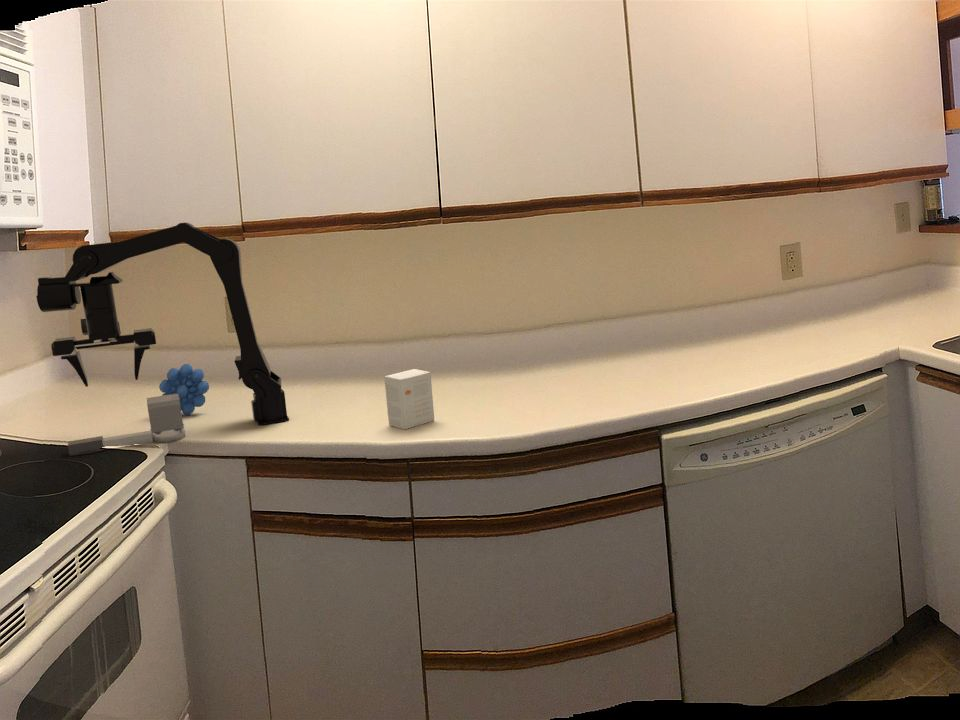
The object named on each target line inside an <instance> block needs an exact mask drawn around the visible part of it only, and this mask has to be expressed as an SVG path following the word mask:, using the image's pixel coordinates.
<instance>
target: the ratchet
mask: <svg viewBox="0 0 960 720" xmlns="http://www.w3.org/2000/svg"><path fill="white" fill-rule="evenodd" d="M183 427H184V428H180V429H174V430H168V431H162V432H156V433H152V432H151V428H150V429H149V430H145V431H139V432H135V433H134V432H133V433H127V434H121V435H114V436H109V437H108V436H107V437H104V436H103V435H101V436H99V435H98V436H96V437H95V436H94V437H88V438H87V437H86V438H81V439H75V440H69V441H68V443H67V450H68V455H70V454H74V453H78V452H83V451H87V450H92V449H100V448H102V447H105V446H119V445H121V446H122V445H134V444H143V445H147V444H148V443H149V444H153V443H154V444H169V443H174V442H178V441H181V440H183V439H185V438H186V431H185V424H184V423H183Z"/></svg>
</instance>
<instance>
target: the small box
mask: <svg viewBox="0 0 960 720" xmlns="http://www.w3.org/2000/svg"><path fill="white" fill-rule="evenodd" d="M383 379H384V386H385V387H384V388H385V399H386V408H387V419H388V425H389V426H390V427H394V428H397V429H401V430H408V428H409V429H411V427H412V428H414V426H415V427H419V426H421V425H424V423H425V424H427V422H428V423H430V422H434V421H435V412H434V411H435V409H434V399H433V388H432V387H433V385H432V374H431V372H430V371H426V370H421V369H417V368H413V369H412V368H411V369H409V370H404V371H400V372H395V373H393V374H389V375H385V376H384V378H383Z"/></svg>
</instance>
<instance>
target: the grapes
mask: <svg viewBox="0 0 960 720" xmlns="http://www.w3.org/2000/svg"><path fill="white" fill-rule="evenodd" d="M193 369H194V368H193V366H192V365H191V364H190V363H184V364H183V365H181V367H180V368H179V369H178V368H175V367H172V368H170V369H169V370H168V371H167V373H166V377H167V378H166V379H164V380H163V379H162V381H161V382H160V383H159V387H158V388H159V390H160V392H161V393H162V395H161V396H164V395H171V394H178V395H179V400H180V407H181V413H182V414H183V415H185V416H190V415H192V414H193V413H194V411H195V408H200V407H202V406H203V405H204V404H205V403H206V396H205V395H204V394H207V392H208V391H209V390H210V384H209V382H207V380H203V379H204V378H205V373H204V370H202V369H201V368H195V369H194V370H193Z"/></svg>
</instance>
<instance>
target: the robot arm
mask: <svg viewBox="0 0 960 720" xmlns="http://www.w3.org/2000/svg"><path fill="white" fill-rule="evenodd" d="M183 243H184V244H186V245H188V246H190V247H192V248H193V249H196V250H197V251H199V252H201V253H203V254H205V255H208V256H209V258H210V261H211V262H212V264H213V267H214V269H215V271H216V273H217V275H218V277H219V278H220V280H221V282H222V285H223V287H224V291H225V294H226V295H225V296H226V300H227V302H228V306H229V310H230V314H231V318H232V322H233V325H234V326H233V327H234V329H235V334H236V336H237V337H236V338H237V342H238V344H239V350H240V351H239V352H240V355H235V358H234V364H235V366H236V369H237V370H238V380H239V381H240V380H242V382H243V385H244V386H245V387H246V388H248V389H250V390H252V391H253V393H252V396H253V399H252V400H250V401H251V402H250V403H251V411H252V412H251V413H252V419H253V420H254V422H256V423H257V425H258V426H262V425H263V426H264V425H267V424H274V423H279V422H285V421H289V420H290V417H289V416H288V412H287V403H286V396H285V395H286V393H285V390H283V388H282V377H280V376H279V375H278V374H276V373H275V372H274V371H272V370H271V366H270V365H269V362H268V359H267V358H266V356H265V353H264V352H263V350H262V348H261V346H260V344H259V342H258V341H259V340H258V338H257V334H256V330H255V326H254V322H253V318H252V314H251V311H250V307H249V302H248V299H247V295H246V291H245V287H244V283H243V275H242V274H243V269H242V253H241V248H240V246H239V244H238V243H237V242H236V241H235V240H233V239H231V238H227V237H226V238H219V237H217V236H215V235H212V234H210V233H208V232H207V231H204V230H202V229H200V228H198V227H196V226H194V224H192V223H190V222H180V223H178V224H176V225H174V226H170V227H166V228H164V229H159V230H156V231H153V232H149V233H146V234H142V235H138V236H136V237H132V238H131V237H130V238H128V239H124V240H121V241H113V242H105V243H104V242H103V243H102V242H101V243H95V244H87V245H86V244H85V245H81V246H79V247H77V248H76V249H75V250H74V252H73V254H72V260H71V261H72V265H71V266H70V268H69V270H68V271H67V273H66V274H65V276H60V277H59V276H58V277H56V276H55V277H50V276H49V277H48V276H45V277H44V276H43V277H38V279H37V282H38V283H37V289H36V290H37V291H36V293H37V295H36V302H37V305H38V308H39V309H40V311H41V312H42V313H49V312H51V313H52V312H62V311H73V310H76V308H77V305H80V304H81V302H82V305H83V306H82V307H83V311H84V318H80V328H81V333H82V335H83V336H88V338H86V339H78V340H77V338H76V336H69V337H59V338H55V339H54V340H53V342H52V343H51V345H50V346H51V347H50V348H51V353H52V356H53V357H57V356H60V360H67V362H68V363H69V364H70V365H71V367H73V369H74V370H75V372H76V373H77V375H78V376H79V378H80V379H81V382H82V383H83V385H84V386H85V387H87V388H88V387H89V382H88V381H89V380H88V376H87V372H86V370H85V367H84V363H83V361H82V360H83V359H82V357H81V356H82V355H81V351H80V350H82V349H92V348H100V347H111V346H116V345H127V344H134V346H133V347H134V348H133V350H134V351H133V353H134V354H133V355H134V356H133V357H134V358H133V359H134V360H133V362H134V364H133V365H134V367H133V369H134V370H133V371H134V372H133V373H134V379H135V381H138V379H139V373H140V370H141V369H140V367H141V363H142V361H143V356H144V355H145V354H144V353H145V350H150V349H151V346H153V345H156V344H157V338H156V332H155V330H154V329H153V328H141V329H134V330H133V333H130V334H121V333H122V332H121V326H120V322H119V320H118V314H117V313H118V312H117V307H116V301H115V295H114V294H115V293H114V289H113V285H116V284H120V283H123V282H124V281H123V278H121V277H120V276H118V275H116V274H115V273H114V271H109V272H108V273H107V275H101V276H91V275H96V274H99V273H102V272H105V271H107V270H109V269H112V268H113V267H115V266H117V265H119V264H121V263H122V262H126V261H127V260H128V259H131V258H134V257H138V256H142V255H145V254H147V253H148V254H149V253H152V252H155V251H159V250H163V249H166V248H169V247H172V246H173V247H174V246H176V245H180V244H183ZM89 276H91V277H90V279H89V282H77V281H82V280H83V279H87V278H88V277H89ZM99 340H100V341H99ZM95 341H97V342H95Z"/></svg>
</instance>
